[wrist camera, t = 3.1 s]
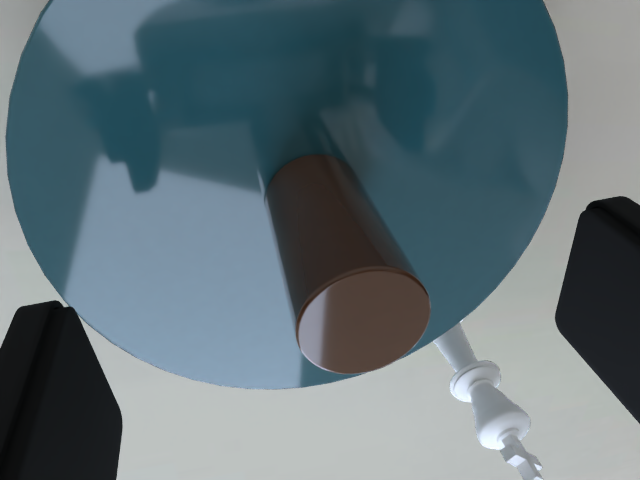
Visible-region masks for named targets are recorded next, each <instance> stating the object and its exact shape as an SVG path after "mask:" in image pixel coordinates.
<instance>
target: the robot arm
mask: <svg viewBox="0 0 640 480" xmlns="http://www.w3.org/2000/svg"><path fill="white" fill-rule="evenodd" d="M555 321H556V325H557V327H558V330H559V331H560V333H561V334H562V335H563V336H564V337H565V339H566V340H567V341H568V342H569V343H570V344H571V345H572V347H573V348H574V349H575V350H576V351H577V352H578V353H579V355H580V356H581V357H582V358H583V359H584V360H585V362H586V363H587V364H588V365H589V366H590V367H591V368H592V370H593V371H594V372H595V373H596V374H597V375H598V376H599V378H600V379H601V380H602V381H603V382H604V383H605V384H606V386H607V387H608V388H609V389H610V390H611V391H612V392H613V394H614V395H615V396H616V397H617V398H618V399H619V401H620V402H621V403H622V404H623V405H624V406H625V407H626V409H627V410H628V411H629V412H630V413H631V414H632V415H633V417H634V418H635V419H636V420H637V421H638V422H639V423H640V205H638V204H637V203H635V202H634V201H632V200H631V199H629V198H627V197H624V196H618V197H613V198H608V199H602V200H597V201H593V202H591V203H590V204H589V205H588V206H587V208H586V210H585V211H583V212H582V213H581V214H580V217H579V220H578V224H577V228H576V232H575V236H574V240H573V244H572V248H571V252H570V257H569V261H568V265H567V269H566V273H565V277H564V281H563V285H562V289H561V293H560V297H559V301H558V305H557V309H556V314H555ZM121 436H122V416H121V411H120V408H119V406H118V404H117V401H116V399H115V397H114V395H113V393H112V390H111V388H110V386H109V384H108V381H107V379H106V377H105V375H104V372H103V370H102V368H101V366H100V364H99V361H98V359H97V357H96V355H95V352H94V350H93V348H92V346H91V344H90V341H89V339H88V337H87V335H86V332H85V330H84V328H83V326H82V323H81V321H80V319H79V317H78V315H77V312H76V311H75V309H74V308H73V307H63V305H62V304H61V303H60V302H59V301H56V300H55V301H49V302H44V303H38V304H33V305H28V306H22V307H20V308H18V309H17V311H16V313H15V315H14V317H13V320H12V322H11V324H10V327H9V329H8V332H7V334H6V336H5V339H4V341H3V343H2V346H1V348H0V480H116V477H117V468H118V460H119V452H120V444H121Z"/></svg>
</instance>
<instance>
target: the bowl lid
mask: <svg viewBox="0 0 640 480" xmlns="http://www.w3.org/2000/svg"><path fill="white" fill-rule="evenodd" d="M567 127H568V90H567V82H566V74H565V66H564V60H563V56H562V52H561V49H560V45H559V41H558V38H557V34H556V30H555V27H554V25H553V22H552V20H551V18H550V16H549V13H548V11H547V9H546V7H545V4H544V2H543V0H49V1H48V3H47V4H46V6H45V7H44V8H43V10H42V11H41V13H40V15H39V17H38V19H37V21H36V23H35V26H34V28H33V30H32V32H31V34H30V36H29V39H28V41H27V43H26V45H25V47H24V49H23V51H22V54H21V57H20V60H19V64H18V68H17V71H16V75H15V79H14V82H13V86H12V89H11V93H10V98H9V107H8V117H7V126H6V135H5V138H6V157H7V175H8V180H9V185H10V189H11V194H12V199H13V203H14V208H15V212H16V215H17V217H18V220H19V223H20V225H21V228H22V231H23V233H24V236H25V238H26V241H27V244H28V246H29V248H30V250H31V251H32V253H33V255H34V257H35V259H36V260H37V262H38V264H39V266H40V268H41V269H42V271H43V273H44V275H45V276H46V277H47V279H48V280H49V281H50V283H51V284H52V285H53V287H54V288H55V289H56V291H57V292H58V293H59V295H60V296H61V297H62V298H63V300H64V301H65V302H66V303H67V304H68V305H69V306H70V307H73V308H74V309H75V311H76V312H77V314H78V315H79V316H80V317H81V318H82V319H83V320H84V321H85V322H86V323H87V324H88V325H89V326H91V327H92V328H93V329H94V330H96V331H97V332H98V333H100V334H101V335H102V336H103V337H105V338H106V339H107V340H109V341H110V342H111V343H113V344H114V345H116V346H118V347H119V348H121V349H123V350H124V351H126V352H128V353H129V354H131V355H133V356H134V357H136V358H138V359H140V360H142V361H144V362H147V363H149V364H151V365H153V366H156V367H158V368H160V369H162V370H164V371H167V372H170V373H173V374H176V375H180V376H183V377H186V378H189V379H192V380H196V381H201V382H205V383H210V384H215V385H219V386H227V387H236V388H245V389H288V388H302V387H309V386H315V385H321V384H327V383H332V382H336V381H340V380H344V379H348V378H352V377H355V376H359V375H361V374H364V373H367V372H371V371H374V370H377V369H380V368H383V367H385V366H387V365H390V364H391V363H393V362H395V361H397V360H399V359H401V358H404V357H406V356H408V355H410V354H411V353H413V352H415V351H417V350H418V349H420V348H422V347H424V346H426V345H427V344H429V343H431V342H432V341H434V340H435V339H437V338H438V337H440V336H441V335H443V334H444V333H445V332H447V331H448V330H450V329H451V328H453V327H454V326H455V325H457V324H458V323H459V322H460V321H461V320H463V319H464V318H465V317H466V316H467V315H469V314H470V313H471V312H472V311H473V310H475V309H476V308H477V307H478V306H479V305H480V304H481V303H482V302H483V301H484V300H485V299H486V298H487V297H488V296H489V295H490V294H491V293H492V292H493V291H494V290H495V289H496V288H497V286H498V285H499V284H500V283H501V282H502V280H503V279H504V278H505V277H506V276H507V274H508V273H509V272H510V271H511V269H512V268H513V267H514V266H515V264H516V263H517V261H518V260H519V258H520V257H521V255H522V254H523V252H524V251H525V249H526V248H527V246H528V245H529V243H530V242H531V240H532V238H533V236H534V234H535V232H536V230H537V228H538V226H539V225H540V223H541V221H542V219H543V217H544V215H545V212H546V210H547V207H548V205H549V202H550V200H551V197H552V194H553V192H554V189H555V187H556V183H557V179H558V175H559V172H560V168H561V164H562V160H563V155H564V148H565V141H566V134H567Z"/></svg>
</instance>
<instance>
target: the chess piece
mask: <svg viewBox="0 0 640 480" xmlns="http://www.w3.org/2000/svg"><path fill="white" fill-rule="evenodd" d="M463 320H464V319H463ZM463 320H461V321H460V322H459V323H458V324H457V325H455V326H454V327H453V328H451V329H450V330H448V331H447V332H445V333H444V334H443V335H441V336H440V337H438V338H437V339H435V340H434V341H433V342H434V344H435V345H436V346H437V347H438V349H439V350H440V351H441V353H442V354H443V355H444V357H445V358H446V359H447V360H448V362H449V363H450V365H451V366H452V367H453V369H454V370H455V372H456V374H455V375H454V376H453V378H452V379H451V382H450V391H451V393H452V394H453V395H454V396H455V397H456V398H457V399H458V400H460V401H464V402H472V410H473V413H474V418H475V428H476V433H477V437H478V440H479V442H480V443H481V444H482V445H483V446H484V447H486V448H489V449H502V450H500V452H501V454H502V455H503V457H504V459H505V461H506V462H507V463H509V464H511V465H514V466H516V467H517V469H518V470H519V472H520V474H521V475H522V477H523V479H524V480H543V478H542V476H541V475H540V473H539V472H538V471H539V470H540V469H542V468H543V467H542V465H541V464H540V462H539V461H538V459H537V457H536V456H534V455H532V454H530V453H528V452H526V450H525V449H524V447H523V445H522V444H521V442H520V440H521V439H522V438H523V437H524V436H525V435H526V434H527V432H528V430H529V428H530V424H531V422H530V418H529V416H528V414H527V413H526V412H525V411H524V410H523V409H521V408H520V407H519V406H518V405H516V404H515V403H513V402H512V401H511V400H509V399H508V398H507V397H506V396H505V395H504V394H503V393H502V392H500V391H499V390H497V387H498V386H499V384H500V381H501V374H500V369H499V367H498V366H497V365H496V364H495V363H493V362H491V361H477V359H476V357H475V355H474V353H473V351H472V349H471V347H470V344H469V342H468V340H467V338H466V335H465V333H464V331H463V328H462V326H461V324H460V323H461V322H462V321H463Z"/></svg>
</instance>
